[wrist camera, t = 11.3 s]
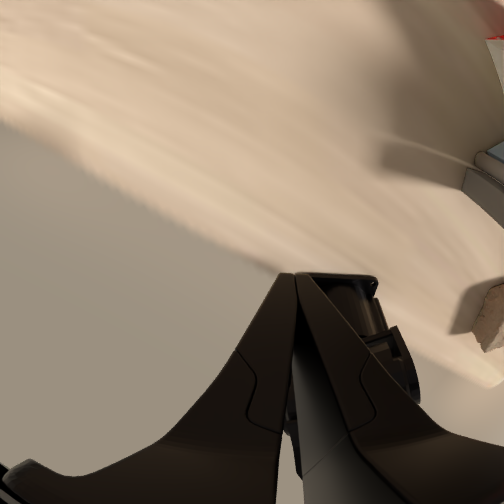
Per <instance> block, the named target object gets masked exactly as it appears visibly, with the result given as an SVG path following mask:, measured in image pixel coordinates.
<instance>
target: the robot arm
mask: <svg viewBox="0 0 504 504" xmlns="http://www.w3.org/2000/svg"><path fill="white" fill-rule="evenodd" d="M372 282H374V283H373V284H371V283H372ZM377 287H378V280H377V278H376V277H364V276H342V275H322V274H295V275H293V274H292V273H279V275H278V276H277V278H276V280H275V282H274V283H273V285H272V287H271V289H270V291H269V292H268V294H267V296H266V297H265V299H264V301H263V303H262V304H261V306H260V308H259V309H258V311H257V313H256V315H255V316H254V318H253V320H252V321H251V323H250V325H249V327H248V328H247V330H246V331H245V333H244V335H243V337H242V338H241V340H240V342H239V343H238V345H237V347H236V348H235V351H233V353H232V355H231V356H230V358H229V359H228V361H227V363H226V364H225V366H224V367H223V369H222V370H221V372H220V373H219V375H218V376H217V377H216V379H215V380H214V381H213V382H212V384H211V385H210V386H209V387H208V389H207V390H206V391H205V392H204V393H203V395H202V396H201V397H200V398H199V399H198V400H197V401H196V402H195V404H194V405H193V406H192V407H191V408H190V409H189V410H188V412H187V413H186V414H185V415H184V416H183V417H182V418H181V419H180V420H179V422H178V423H177V424H176V425H175V426H174V427H173V428H172V429H171V430H170V431H169V432H168V433H167V434H166V435H165V436H163V437H162V438H161V439H160V440H158V441H157V442H155V443H154V444H152V445H150V446H148V447H146V448H144V449H142V450H140V451H138V452H136V453H134V454H132V455H130V456H128V457H126V458H124V459H122V460H120V461H118V462H116V463H114V464H111V465H110V466H107V467H105V468H103V469H101V470H98V471H96V472H93V473H90V474H87V475H84V476H76V477H72V476H64V475H61V474H58V473H56V472H54V471H52V470H51V469H49V468H47V467H45V466H43V465H41V464H40V463H38V462H36V461H34V460H32V459H27V460H25V461H23V462H22V463H20V464H18V465H16V466H14V467H13V468H11V469H9V468H8V467H6V466H5V465H3V464H2V463H0V504H276V493H277V481H278V467H279V456H280V448H281V441H282V434H283V430H284V432H285V433H286V434H287V435H288V436H290V437H291V441H292V446H293V451H294V458H295V466H296V472H297V474H298V476H299V477H300V478H301V479H302V481H303V491H304V504H504V447H503V446H499V445H494V444H490V443H486V442H482V441H479V440H475V439H471V438H468V437H464V436H461V435H457V434H454V433H451V432H449V431H447V430H445V429H444V428H442V427H440V426H439V425H438V424H436V422H434V421H433V420H432V419H431V418H430V417H429V416H428V415H427V414H426V412H425V411H424V410H423V409H422V408H421V407H420V406H419V405H418V404H420V387H419V382H418V377H417V373H416V369H415V366H414V363H413V360H412V358H411V355H410V353H409V351H408V349H407V346H406V344H405V342H404V340H403V338H402V336H401V333H400V331H399V329H398V327H397V325H396V326H394V327H391V328H390V329H389V328H388V325H387V322H386V319H385V316H384V314H383V311H382V308H381V305H380V303H379V300H378V299H377V298H374V295H375V292H376V289H377Z"/></svg>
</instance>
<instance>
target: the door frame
mask: <svg viewBox="0 0 504 504" xmlns="http://www.w3.org/2000/svg"><path fill="white" fill-rule="evenodd" d="M461 191H462V192H463V193H465V194H466V195H467V196H468V197H469V198H471V199H472V200H473V201H474V202H475V203H476V204H478V205H479V206H480V207H481V208H482V209H483V210H484V211H485V212H487V213H488V214H489V215H490V216H491V217H492V218H493V219H494V220H495V221H496V222H497V223H498V224H499V225H500V226H501V227H503V228H504V186H503V185H502V184H500V183H499V182H497V181H496V180H495V179H493V178H492V177H490V176H489V175H487V174H485V173H482V172H479V171H476V170H473V169H469V168H467V172H466V176H465V179H464V183H463V187H462V190H461Z"/></svg>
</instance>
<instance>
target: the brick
mask: <svg viewBox="0 0 504 504" xmlns="http://www.w3.org/2000/svg"><path fill="white" fill-rule="evenodd" d="M472 332H473V334H474V335H475V337H476V340H477V342H478V343H481V344H480V345H481V349H482V350H483V351H484V353H485V352H489V351H492V350H493V349H495V348H500V347H502V346H504V284H502V285H499V286H496V287H493V288H491V289H490V290H489V292H488V294H487V296H486V298H485V301H484V305H483V307H482V310H481V311H480V314H479V316H478V318H477V320H476V321H475V323H474V326H473V328H472Z"/></svg>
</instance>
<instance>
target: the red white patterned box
mask: <svg viewBox="0 0 504 504" xmlns="http://www.w3.org/2000/svg"><path fill="white" fill-rule="evenodd" d="M485 41H486V44H487V46H488V49H489V51H490V54H491V57H492V59H493V62H494V65H495V68H496V70H497V73H498V76H499V80H500V83H501V86H502V89H503V93H504V35H502V36H498V37H492V38H488V39H486V40H485Z"/></svg>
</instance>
